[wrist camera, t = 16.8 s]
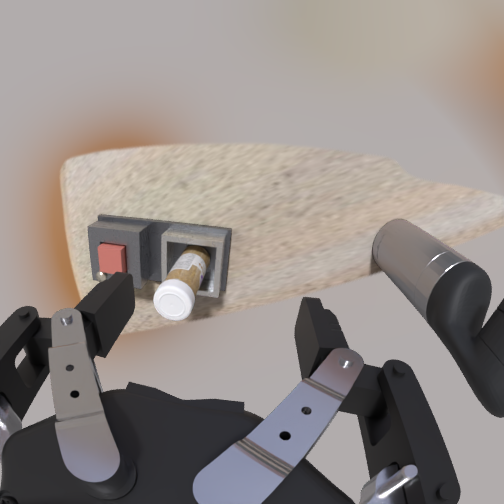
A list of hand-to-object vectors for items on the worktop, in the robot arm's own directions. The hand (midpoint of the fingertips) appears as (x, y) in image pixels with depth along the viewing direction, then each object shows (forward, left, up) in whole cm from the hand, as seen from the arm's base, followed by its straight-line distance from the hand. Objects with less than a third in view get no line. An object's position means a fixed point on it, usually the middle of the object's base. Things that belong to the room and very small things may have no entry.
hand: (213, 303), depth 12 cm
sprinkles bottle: (+6, +10, -27) cm, 30 cm away
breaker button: (+18, +10, -27) cm, 34 cm away
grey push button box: (+12, +10, -28) cm, 32 cm away
